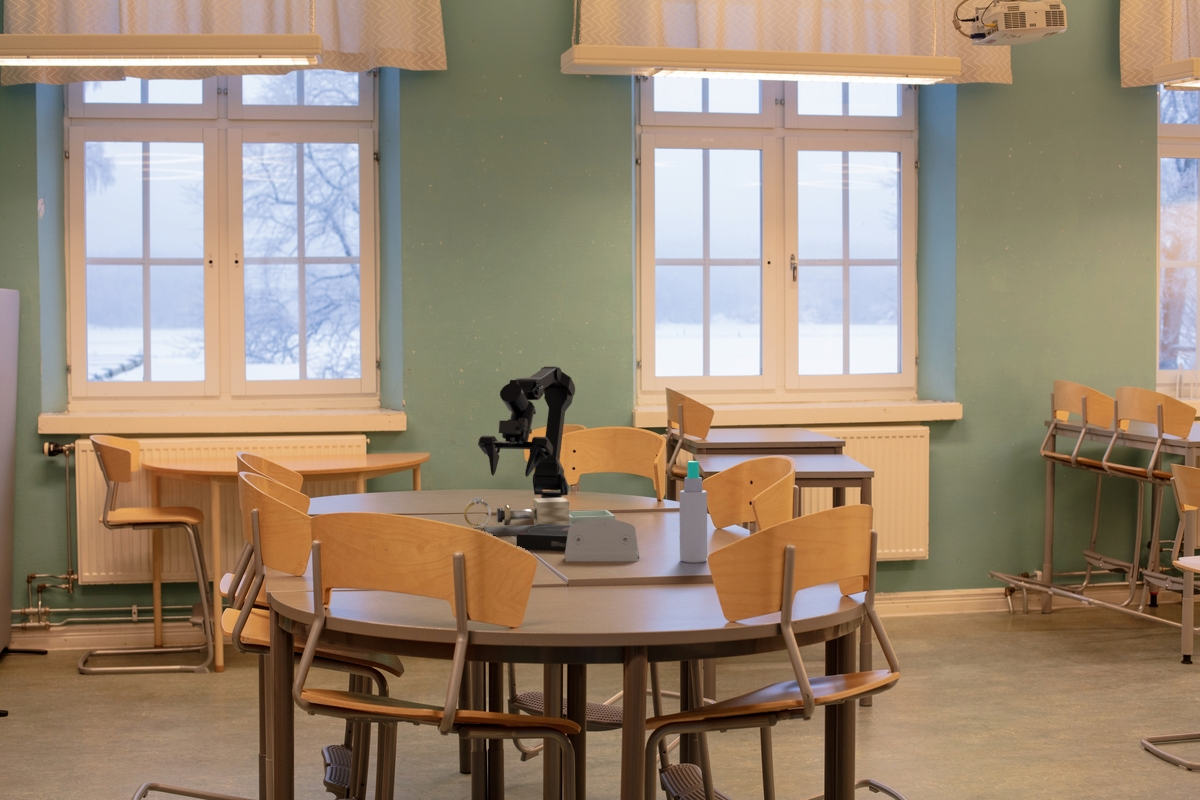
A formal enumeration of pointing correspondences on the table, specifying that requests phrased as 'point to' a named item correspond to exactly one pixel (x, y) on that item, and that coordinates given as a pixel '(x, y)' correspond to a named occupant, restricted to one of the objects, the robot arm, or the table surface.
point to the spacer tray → (589, 515)
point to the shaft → (514, 514)
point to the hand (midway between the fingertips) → (509, 475)
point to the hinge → (602, 541)
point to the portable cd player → (544, 537)
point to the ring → (474, 504)
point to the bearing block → (539, 516)
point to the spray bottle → (693, 517)
